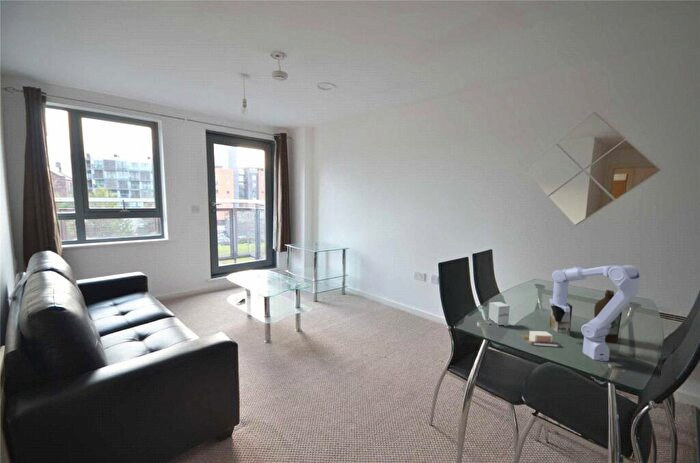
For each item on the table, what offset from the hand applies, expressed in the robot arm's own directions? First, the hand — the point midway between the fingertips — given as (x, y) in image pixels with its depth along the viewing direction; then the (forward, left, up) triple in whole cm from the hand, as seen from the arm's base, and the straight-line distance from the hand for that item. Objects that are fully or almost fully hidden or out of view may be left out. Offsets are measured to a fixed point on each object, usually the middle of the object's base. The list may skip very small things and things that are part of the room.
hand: (557, 321), depth 149 cm
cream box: (-6, +10, -9) cm, 15 cm away
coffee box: (+13, -8, -11) cm, 19 cm away
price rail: (-9, +10, -9) cm, 16 cm away
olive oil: (+8, -27, -11) cm, 30 cm away
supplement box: (+16, +22, -11) cm, 29 cm away
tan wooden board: (-4, +10, -10) cm, 15 cm away
